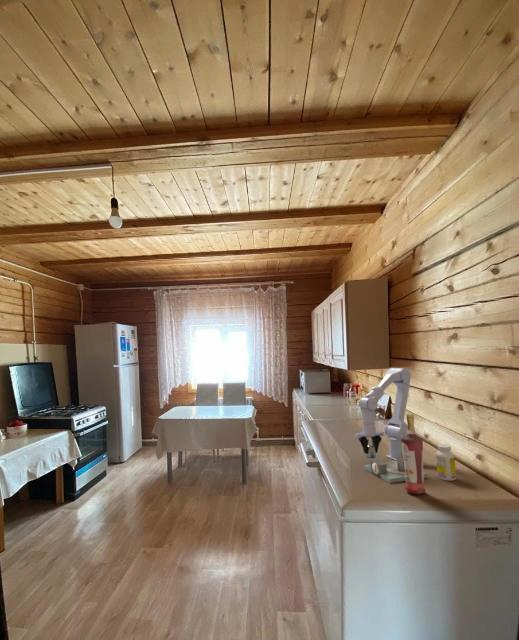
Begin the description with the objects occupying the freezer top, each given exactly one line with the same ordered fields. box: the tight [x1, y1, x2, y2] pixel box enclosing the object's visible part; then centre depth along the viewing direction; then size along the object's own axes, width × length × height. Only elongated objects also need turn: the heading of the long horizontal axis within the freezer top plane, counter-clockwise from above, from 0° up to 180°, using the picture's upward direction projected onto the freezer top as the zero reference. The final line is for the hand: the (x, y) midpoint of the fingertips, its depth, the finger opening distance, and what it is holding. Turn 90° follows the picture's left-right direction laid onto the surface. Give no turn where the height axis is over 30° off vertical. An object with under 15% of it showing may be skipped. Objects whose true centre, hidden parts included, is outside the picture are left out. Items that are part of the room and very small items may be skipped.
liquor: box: [401, 413, 427, 496], centre depth 125 cm, size 7×7×28 cm
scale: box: [363, 459, 428, 484], centre depth 144 cm, size 18×18×5 cm
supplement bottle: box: [435, 443, 457, 482], centre depth 137 cm, size 7×7×13 cm
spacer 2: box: [397, 456, 405, 472], centre depth 141 cm, size 4×4×5 cm
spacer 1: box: [365, 444, 377, 459], centre depth 157 cm, size 4×4×5 cm
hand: (370, 452), depth 157 cm, fingers closed on spacer 1, 4 cm apart
